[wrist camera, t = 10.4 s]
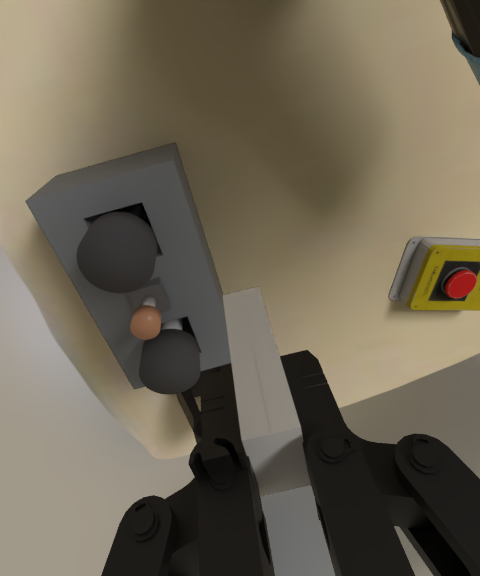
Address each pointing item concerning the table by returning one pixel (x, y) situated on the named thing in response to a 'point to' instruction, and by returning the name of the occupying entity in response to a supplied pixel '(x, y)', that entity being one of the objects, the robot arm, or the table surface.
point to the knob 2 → (170, 360)
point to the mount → (170, 249)
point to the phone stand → (190, 404)
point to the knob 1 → (118, 251)
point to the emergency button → (439, 274)
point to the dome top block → (148, 309)
